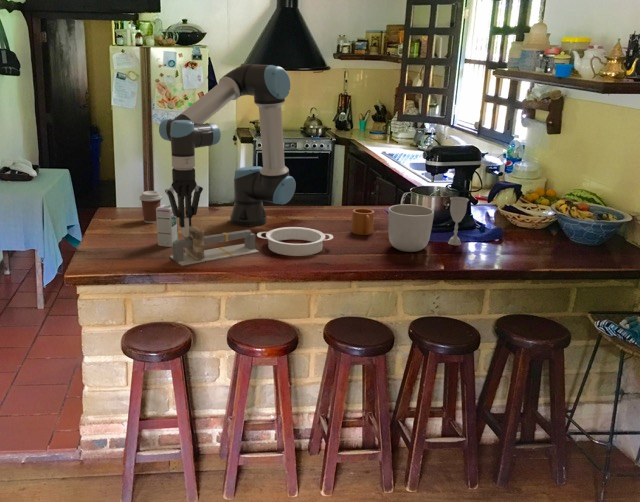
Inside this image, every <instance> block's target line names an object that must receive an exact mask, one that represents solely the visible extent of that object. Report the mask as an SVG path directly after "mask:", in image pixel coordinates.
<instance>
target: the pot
mask: <svg viewBox="0 0 640 502" xmlns="http://www.w3.org/2000/svg"><path fill="white" fill-rule="evenodd" d="M262 234H265V237H264V236H262ZM256 236H257V237H258V238H261V239H266V240H267V241H268V247H267V248H268V249H269V250H270V251H271V252H273V253H275V254H278V255H284V256H293V257H297V256H298V257H301V256H302V257H303V256H312V255H315V254H318V253H320V252H322V250H323V241H331V240H333V239H334V235H333V234H331V233H323V232H322V231H320V230H317V229H313V228H308V227H304V226H303V227H302V226H301V227H299V226H286V227H278V228H273V229H271V230H269V231H259V232H257V234H256ZM326 236H328V237H329V238H328V239H326ZM285 240H286V241H287V240H298V241H299V240H302V241H308V242H306V243H289V242H283V241H285Z"/></svg>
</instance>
